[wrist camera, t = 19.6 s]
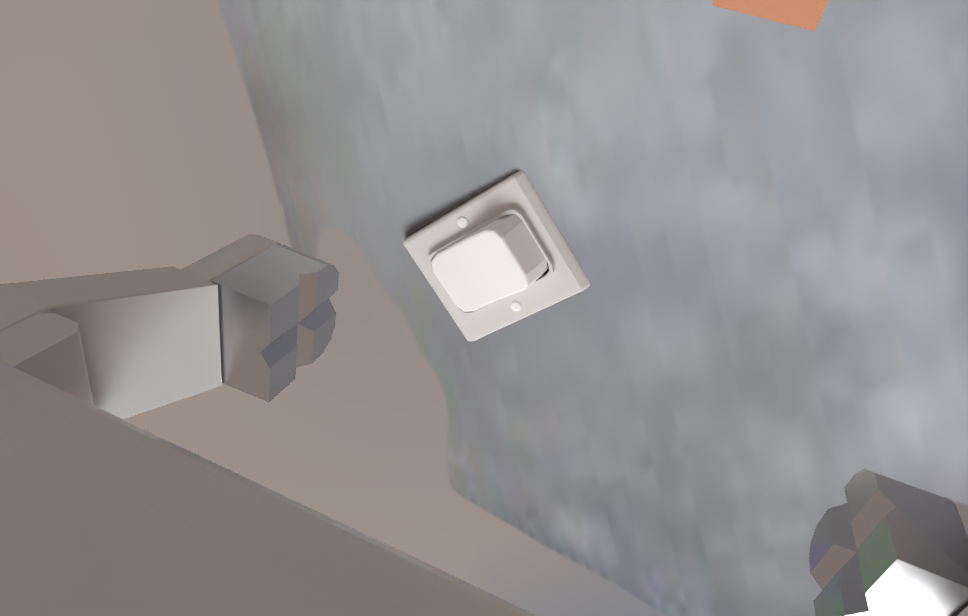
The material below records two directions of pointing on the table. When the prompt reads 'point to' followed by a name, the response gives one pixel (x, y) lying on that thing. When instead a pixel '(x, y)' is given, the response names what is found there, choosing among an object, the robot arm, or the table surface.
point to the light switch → (497, 258)
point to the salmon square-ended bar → (779, 10)
